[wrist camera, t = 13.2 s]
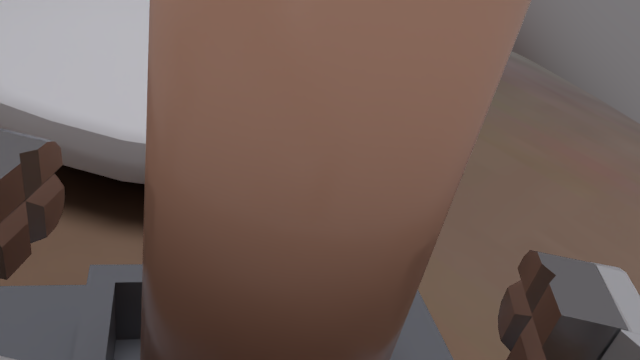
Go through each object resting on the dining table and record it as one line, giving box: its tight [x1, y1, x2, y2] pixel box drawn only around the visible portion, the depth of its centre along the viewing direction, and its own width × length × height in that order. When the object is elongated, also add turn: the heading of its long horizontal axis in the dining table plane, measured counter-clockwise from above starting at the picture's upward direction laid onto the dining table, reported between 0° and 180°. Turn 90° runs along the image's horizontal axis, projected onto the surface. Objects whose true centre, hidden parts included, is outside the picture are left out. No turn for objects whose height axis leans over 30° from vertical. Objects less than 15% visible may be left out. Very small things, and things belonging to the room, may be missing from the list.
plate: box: [0, 0, 150, 184], centre depth 35 cm, size 28×6×27 cm
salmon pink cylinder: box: [140, 0, 531, 360], centre depth 12 cm, size 6×6×14 cm
